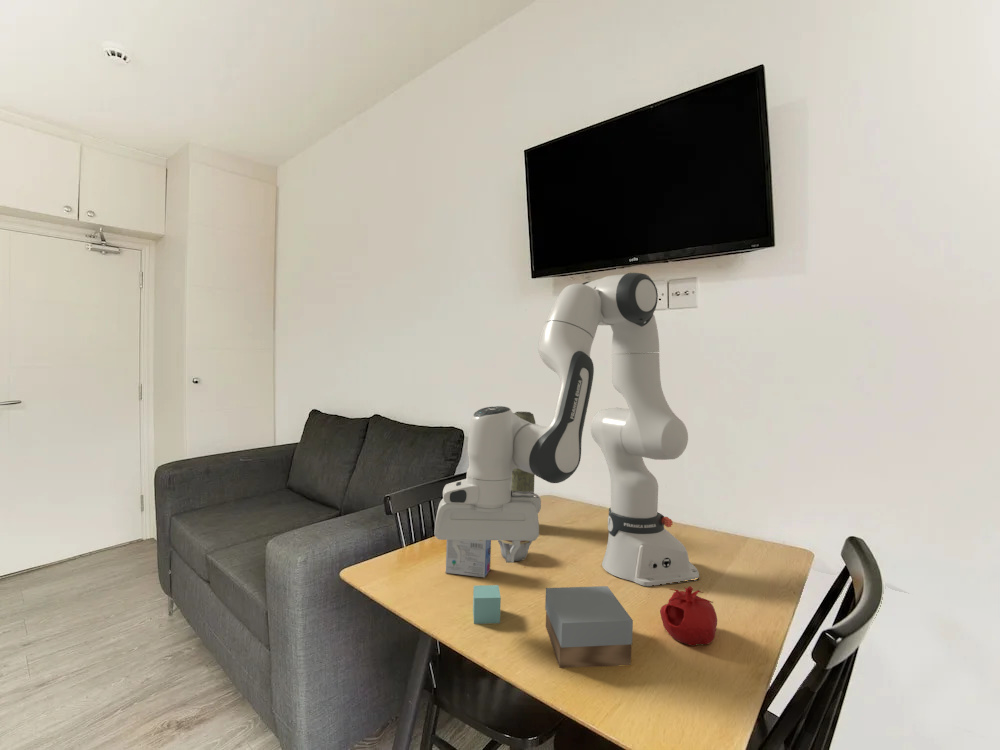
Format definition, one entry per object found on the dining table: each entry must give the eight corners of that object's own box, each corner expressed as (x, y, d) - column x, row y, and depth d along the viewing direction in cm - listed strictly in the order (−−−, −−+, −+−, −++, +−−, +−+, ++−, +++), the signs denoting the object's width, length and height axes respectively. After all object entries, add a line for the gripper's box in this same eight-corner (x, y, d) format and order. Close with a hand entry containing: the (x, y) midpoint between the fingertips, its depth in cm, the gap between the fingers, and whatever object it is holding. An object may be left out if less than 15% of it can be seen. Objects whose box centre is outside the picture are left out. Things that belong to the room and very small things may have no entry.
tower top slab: (606, 606, 89) (607, 586, 89) (632, 644, 77) (632, 620, 77) (545, 609, 87) (545, 587, 87) (561, 647, 75) (562, 623, 75)
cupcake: (531, 566, 114) (532, 525, 114) (493, 562, 116) (494, 522, 115) (534, 551, 123) (535, 513, 123) (499, 548, 125) (500, 511, 125)
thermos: (536, 522, 146) (539, 411, 146) (532, 535, 135) (535, 414, 134) (508, 519, 148) (511, 409, 147) (502, 532, 136) (505, 413, 136)
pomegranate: (708, 623, 90) (710, 576, 90) (724, 655, 80) (726, 602, 80) (655, 617, 92) (657, 571, 92) (665, 648, 82) (666, 595, 82)
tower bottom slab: (607, 627, 89) (608, 606, 89) (630, 668, 77) (631, 644, 77) (545, 628, 88) (546, 608, 88) (559, 670, 76) (560, 646, 76)
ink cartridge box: (491, 568, 112) (492, 508, 112) (486, 578, 107) (487, 516, 106) (452, 564, 114) (453, 505, 114) (444, 573, 109) (446, 512, 108)
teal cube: (497, 609, 93) (498, 585, 93) (500, 623, 88) (500, 597, 88) (472, 610, 93) (473, 585, 93) (473, 624, 88) (474, 598, 88)
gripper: (538, 487, 94) (535, 555, 94) (437, 485, 92) (434, 554, 92) (544, 495, 88) (541, 568, 88) (435, 493, 86) (432, 567, 86)
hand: (485, 561), depth 90 cm, fingers open, 8 cm apart
